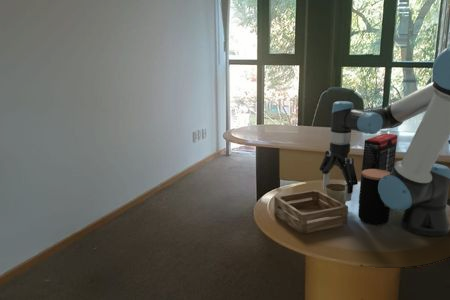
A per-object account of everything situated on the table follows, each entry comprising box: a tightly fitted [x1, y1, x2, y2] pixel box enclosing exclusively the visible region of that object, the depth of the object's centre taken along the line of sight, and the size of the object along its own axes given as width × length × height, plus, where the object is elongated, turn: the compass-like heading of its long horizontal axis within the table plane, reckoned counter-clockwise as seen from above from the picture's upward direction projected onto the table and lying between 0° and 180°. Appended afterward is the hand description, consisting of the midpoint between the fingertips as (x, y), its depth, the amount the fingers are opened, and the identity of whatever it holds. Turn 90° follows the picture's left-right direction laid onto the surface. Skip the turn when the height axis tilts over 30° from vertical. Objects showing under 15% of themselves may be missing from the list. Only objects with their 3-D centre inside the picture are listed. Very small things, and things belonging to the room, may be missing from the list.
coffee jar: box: [357, 169, 391, 226], centre depth 143 cm, size 11×11×18 cm
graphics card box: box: [358, 133, 399, 199], centre depth 160 cm, size 17×7×27 cm, turn 136°
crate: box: [273, 189, 349, 235], centre depth 146 cm, size 19×19×7 cm
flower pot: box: [325, 182, 347, 208], centre depth 156 cm, size 9×9×9 cm
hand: (336, 194), depth 156 cm, fingers open, 13 cm apart
